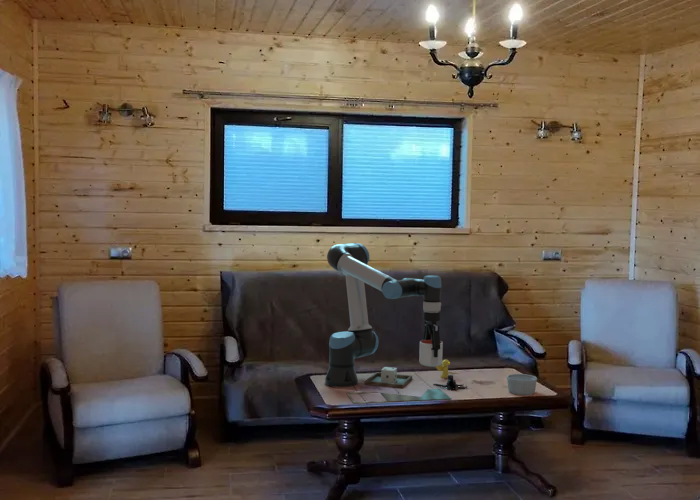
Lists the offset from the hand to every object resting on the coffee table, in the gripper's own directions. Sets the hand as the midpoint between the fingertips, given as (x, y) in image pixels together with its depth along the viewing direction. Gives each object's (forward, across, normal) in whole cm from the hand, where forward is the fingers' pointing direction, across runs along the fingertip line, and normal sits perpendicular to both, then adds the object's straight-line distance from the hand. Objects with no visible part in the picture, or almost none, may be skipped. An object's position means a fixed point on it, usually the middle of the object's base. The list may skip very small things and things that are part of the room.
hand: (430, 361), depth 312 cm
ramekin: (+15, -1, -42) cm, 45 cm away
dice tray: (+15, +24, +13) cm, 31 cm away
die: (+14, +24, +13) cm, 30 cm away
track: (+15, 0, +14) cm, 20 cm away
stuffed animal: (+16, +11, -13) cm, 23 cm away
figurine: (+15, +28, -19) cm, 37 cm away
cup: (+1, 0, 0) cm, 1 cm away
